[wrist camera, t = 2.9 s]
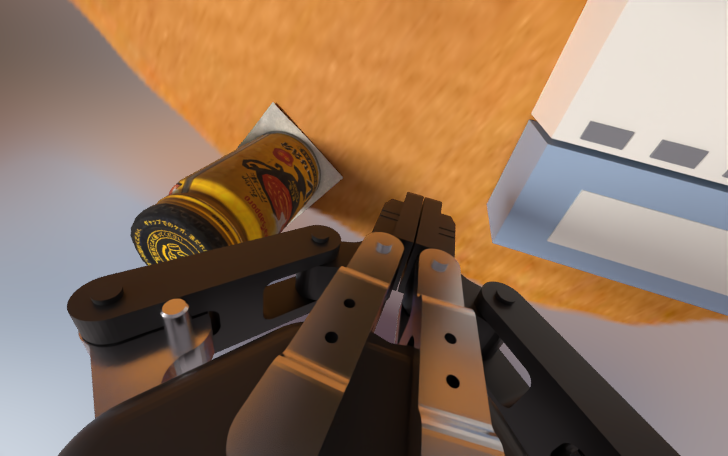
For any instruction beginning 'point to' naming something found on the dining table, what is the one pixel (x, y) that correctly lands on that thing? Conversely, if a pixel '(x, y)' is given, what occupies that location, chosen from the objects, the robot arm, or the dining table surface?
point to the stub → (614, 218)
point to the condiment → (237, 194)
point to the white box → (645, 84)
